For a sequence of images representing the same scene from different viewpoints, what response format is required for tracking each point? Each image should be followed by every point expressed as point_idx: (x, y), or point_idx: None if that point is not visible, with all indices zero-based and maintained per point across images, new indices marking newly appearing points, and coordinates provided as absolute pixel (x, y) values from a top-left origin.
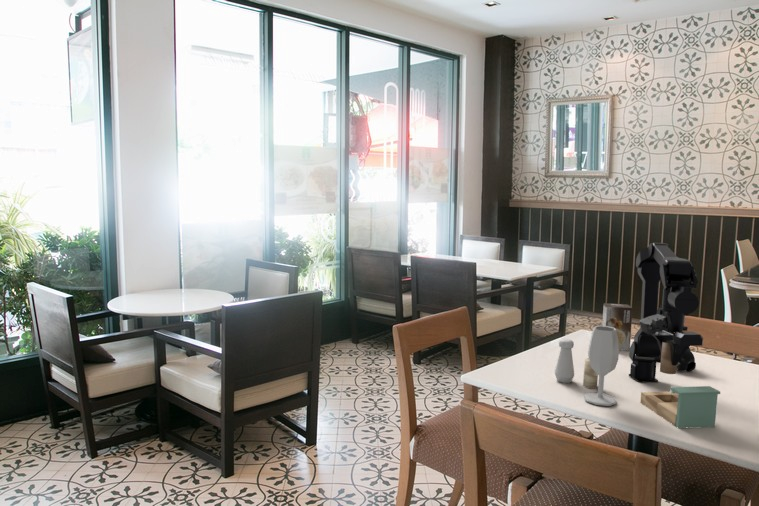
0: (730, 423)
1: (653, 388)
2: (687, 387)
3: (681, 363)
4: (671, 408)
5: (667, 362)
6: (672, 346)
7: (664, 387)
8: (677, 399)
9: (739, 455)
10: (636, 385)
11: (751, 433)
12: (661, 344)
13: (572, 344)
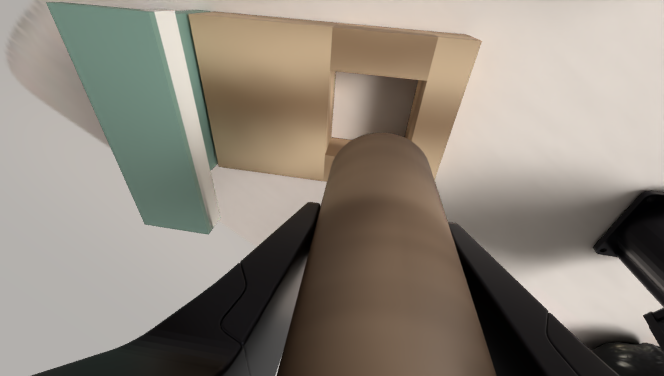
0: (249, 202)
1: (558, 196)
2: (169, 127)
3: (614, 366)
4: (260, 49)
5: (336, 191)
6: (144, 359)
7: (541, 233)
8: None
9: (30, 68)
10: (630, 159)
11: None
12: (530, 369)
13: None
